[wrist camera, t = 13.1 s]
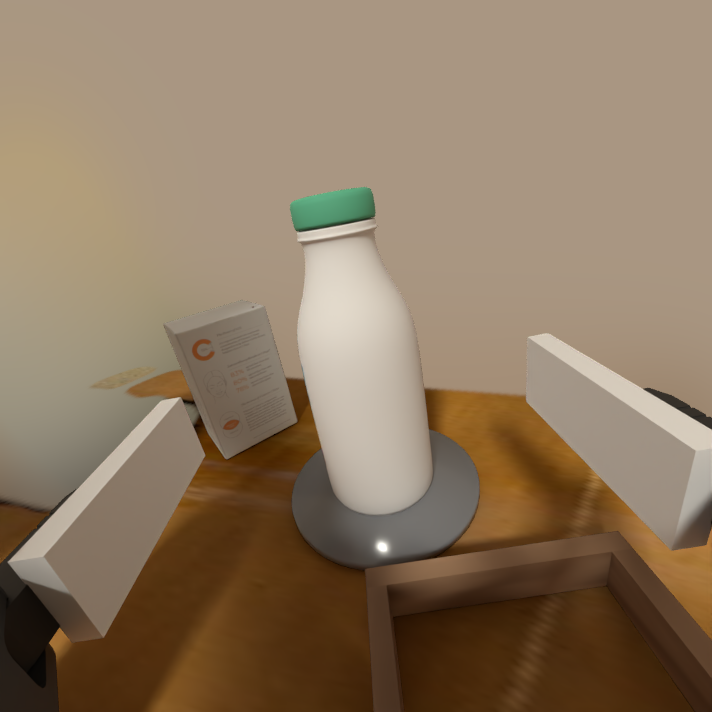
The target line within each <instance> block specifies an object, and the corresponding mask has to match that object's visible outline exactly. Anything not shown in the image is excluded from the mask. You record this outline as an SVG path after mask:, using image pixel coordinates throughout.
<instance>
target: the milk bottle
mask: <svg viewBox="0 0 712 712" xmlns="http://www.w3.org/2000/svg"><path fill="white" fill-rule="evenodd" d="M290 211H291V215H292V221H293V224H294V228H295V230H296V231H299V232H297V236H298V240H297V241H298V242H299V243H301V244H302V246H303V249H304V253H305V282H304V290H303V296H302V301H301V306H300V311H299V318H298V327H297V342H298V350H299V357H300V362H301V366H302V371H303V376H304V380H305V384H306V389H307V393H308V397H309V401H310V405H311V409H312V413H313V417H314V421H315V425H316V429H317V433H318V437H319V440H320V444H321V448H322V452H323V456H324V460H325V464H326V468H327V471H328V475H329V479H330V482H331V486H332V489H333V492H334V494H335V495H336V497H337V498H338V499H339V500H340V501H341V502H342V503H343V504H344V505H345V506H346V507H348V508H349V509H350V510H352V511H355V512H357V513H359V514H364V515H369V516H384V515H392V514H395V513H399V512H402V511H404V510H406V509H408V508H410V507H412V506H413V505H414V504H416V503H417V502H418V501H419V500H420V499H421V498H422V497H423V496H424V495H425V493H426V491H427V490H428V488H429V486H430V484H431V481H432V477H433V467H432V455H431V445H430V436H429V427H428V418H427V409H426V401H425V392H424V384H423V376H422V368H421V360H420V353H419V347H418V341H417V334H416V330H415V326H414V322H413V318H412V316H411V313H410V310H409V308H408V306H407V303H406V301H405V300H404V298H403V296H402V294H401V293H400V291H399V290H398V288H397V286H396V285H395V283H394V282H393V280H392V278H391V277H390V275H389V273H388V271H387V270H386V267H385V265H384V263H383V261H382V259H381V257H380V254H379V252H378V249H377V246H376V242H375V236H374V230H375V229H376V228H377V225H376V222H375V218H371V217H374V216H375V204H374V199H373V194H372V191H371V189H370V188H366V187H361V188H352V189H346V190H340V191H334V192H328V193H323V194H318V195H314V196H309V197H305V198H302V199H298V200H296V201H293V202H292V203H291V205H290ZM302 230H303V231H302Z"/></svg>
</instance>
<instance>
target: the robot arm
mask: <svg viewBox="0 0 712 712" xmlns="http://www.w3.org/2000/svg"><path fill="white" fill-rule="evenodd" d="M526 388H527V389H526V402H527V403H528V404H529V405H530V406H531V407H532V408H533V409H534V410H535V411H536V412H537V413H538V414H539V415H540V416H541V417H542V418H543V419H544V420H545V421H546V422H547V423H548V424H549V425H550V426H551V427H552V428H553V429H554V430H555V432H556V433H557V434H558V435H559V436H560V437H561V438H562V439H563V440H564V441H565V442H566V443H567V444H568V445H569V446H570V447H571V448H572V449H573V450H574V451H575V452H576V453H577V454H578V455H579V456H580V457H581V458H582V459H583V460H584V461H585V462H586V463H587V464H588V465H589V466H590V467H591V469H592V470H593V471H594V472H595V473H596V474H597V475H598V476H599V477H600V478H601V479H602V480H603V481H604V482H605V483H606V484H607V485H608V486H609V487H610V488H611V489H612V490H613V491H614V492H615V493H616V494H617V495H618V496H619V497H620V498H621V499H622V500H623V501H624V502H625V503H626V505H627V506H628V507H629V508H630V509H631V510H632V511H633V512H634V513H635V514H636V515H637V516H638V517H639V518H640V519H641V520H642V521H643V522H644V523H645V524H646V525H647V526H648V527H649V528H650V529H651V530H652V531H653V532H654V533H655V534H656V535H657V536H658V537H659V538H660V539H661V540H662V542H663V543H664V544H665V545H666V546H667V547H668V548H669V549H670V550H678V549H684V548H691V547H697V546H704V545H706V544H707V541H708V537H709V534H710V531H711V527H712V418H711V417H706V415H705V414H704V413H702V412H700V411H699V410H697V409H695V408H691V407H690V406H689V405H688V404H686V403H684V402H683V401H681V400H679V399H677V398H675V397H674V396H672V395H669V394H666V393H662V392H660V391H657V390H654V389H651V388H645V389H642V388H640V387H638V386H637V385H635V384H633V383H631V382H630V381H628V380H626V379H624V378H623V377H621V376H620V375H618V374H616V373H615V372H613V371H611V370H610V369H608V368H606V367H604V366H603V365H601V364H599V363H598V362H596V361H594V360H592V359H591V358H589V357H587V356H586V355H584V354H582V353H581V352H579V351H577V350H575V349H574V348H572V347H570V346H569V345H567V344H565V343H564V342H562V341H560V340H559V339H557V338H555V337H554V336H552V335H550V334H548V333H547V334H541V335H536V336H530V337H527V385H526ZM204 457H205V454H204V451H203V449H202V446H201V444H200V442H199V439H198V437H197V434H196V432H195V430H194V427H193V425H192V422H191V420H190V418H189V415H188V413H187V411H186V408H185V406H184V403H183V401H182V399H181V397H179V398H173V399H167V400H162V401H160V402H159V404H158V405H157V406H156V407H155V408H154V409H153V410H152V411H151V412H150V413H149V414H148V415H147V416H146V417H145V418H144V419H143V420H142V422H141V423H140V424H139V425H138V426H137V427H136V428H135V429H134V430H133V431H132V432H131V433H130V434H129V435H128V436H127V437H126V438H125V440H123V441H122V442H121V444H120V445H119V446H118V447H117V448H116V449H115V450H114V451H113V452H112V453H111V454H110V455H109V456H108V457H107V458H106V459H105V460H104V462H102V464H101V465H100V466H99V467H98V468H97V469H96V470H95V471H94V472H93V473H92V474H91V475H90V476H89V477H88V478H87V479H86V480H85V481H84V482H83V484H82V485H81V486H80V487H78V488H77V489H76V490H74V491H73V492H71V493H70V494H69V495H67V496H66V497H65V498H64V499H63V500H62V501H61V502H60V503H59V504H58V505H57V506H56V507H55V508H54V509H53V510H52V511H51V512H50V515H49V516H46V517H45V518H44V519H43V520H42V521H41V522H40V523H39V524H38V525H37V529H34V530H33V531H32V532H31V533H30V534H29V535H28V536H27V537H26V538H25V539H24V540H23V541H22V542H21V543H20V544H19V545H18V546H17V547H16V548H15V549H14V550H13V551H12V552H11V553H10V554H9V555H8V556H7V557H6V559H5V560H4V561H3V562H2V563H1V564H0V712H59V705H58V687H57V670H56V654H55V652H54V650H53V648H52V647H51V645H50V644H49V642H50V640H51V639H52V637H53V636H54V634H55V633H56V632H57V630H58V629H59V627H60V628H61V629H62V631H63V632H64V633H65V634H66V636H67V637H68V638H69V639H70V641H71V642H72V643H74V642H80V641H87V640H93V639H100V638H104V636H105V635H106V633H107V631H108V629H109V627H110V626H111V624H112V622H113V620H114V618H115V617H116V615H117V613H118V611H119V610H120V608H121V606H122V604H123V602H124V601H125V599H126V597H127V595H128V593H129V592H130V590H131V588H132V586H133V584H134V583H135V581H136V579H137V577H138V575H139V574H140V572H141V570H142V568H143V566H144V565H145V563H146V561H147V559H148V557H149V556H150V554H151V552H152V550H153V548H154V547H155V545H156V543H157V541H158V539H159V538H160V536H161V534H162V532H163V530H164V529H165V527H166V525H167V523H168V521H169V520H170V518H171V516H172V514H173V512H174V511H175V509H176V507H177V505H178V504H179V502H180V500H181V498H182V496H183V495H184V493H185V491H186V489H187V487H188V486H189V484H190V482H191V480H192V478H193V477H194V475H195V473H196V471H197V469H198V468H199V466H200V464H201V462H202V460H203V459H204Z"/></svg>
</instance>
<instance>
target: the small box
mask: <svg viewBox="0 0 712 712" xmlns="http://www.w3.org/2000/svg"><path fill="white" fill-rule="evenodd" d="M164 328H165V330H166V333H167V335H168V337H169V340H170V343H171V345H172V347H173V350H174V352H175V355H176V357H177V359H178V362H179V364H180V367H181V369H182V372H183V374H184V377H185V379H186V381H187V384H188V386H189V389H190V391H191V394H192V396H193V398H194V401H195V403H196V406H197V408H198V410H199V413H200V415H201V418H202V420H203V422H204V425H205V427H206V430H207V432H208V434H209V436H210V437H211V439H212V440H213V441H214V443H215V444H216V446H217V447H218V449H219V450H220V452H221V453H222V455H223V456H224V457H225V459H229V458H231V457H232V456H234V455H236V454H238V453H240V452H242V451H244V450H246V449H247V448H249V447H251V446H253V445H255V444H257V443H259V442H261V441H263V440H264V439H266V438H268V437H270V436H272V435H274V434H276V433H278V432H280V431H281V430H283V429H285V428H287V427H289V426H291V425H293V424H295V423H297V417H296V414H295V410H294V407H293V403H292V400H291V396H290V392H289V388H288V385H287V382H286V378H285V375H284V371H283V368H282V365H281V361H280V358H279V354H278V351H277V347H276V344H275V341H274V337H273V333H272V330H271V326H270V323H269V319H268V316H267V312H266V309H265V306H262V305H259V304H256V303H252V302H248V301H243V300H240V301H237V302H234V303H230V304H227V305H224V306H220V307H217V308H214V309H211V310H207V311H204V312H200V313H197V314H194V315H191V316H187V317H184V318H180V319H177V320H174V321H171V322H167V323H164Z"/></svg>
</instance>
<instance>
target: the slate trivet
mask: <svg viewBox="0 0 712 712" xmlns="http://www.w3.org/2000/svg"><path fill="white" fill-rule="evenodd" d="M429 436H430V445H431V455H432V467H433V477H432V481H431V484H430V486H429V488H428V490H427V491H426V493H425V495H424V496H423V497H422V498H421V499H420V500H419V501H418V502H417V503H416V504H414V505H413V506H412V507H410V508H408V509H406V510H404V511H402V512H399V513H395V514H392V515H384V516H369V515H364V514H359V513H357V512H355V511H352V510H350V509H349V508H348V507H346V506H345V505H344V504H343V503H342V502H341V501H340V500H339V499H338V498H337V497H336V495H335V494H334V492H333V489H332V486H331V482H330V479H329V475H328V471H327V468H326V464H325V460H324V456H323V452H322V448H321V449H320V450H319V451H318V452H316V453H315V454H314V455H313V456H312V457H311V458H310V459H309V460H308V462H307V463H306V464H305V465H304V467H303V468H302V470H301V472H300V473H299V475H298V477H297V479H296V482H295V484H294V488H293V492H292V511H293V515H294V518H295V522H296V525H297V527H298V529H299V531H300V533H301V535H302V537H303V538H304V539H305V541H306V542H307V543H308V544H309V545H310V546H311V547H312V548H313V549H314V550H315V551H316V552H317V553H319V554H320V555H322V556H323V557H325V558H326V559H328V560H330V561H332V562H335V563H337V564H339V565H343V566H346V567H349V568H353V569H359V570H365V569H368V568H375V567H381V566H388V565H394V564H401V563H408V562H414V561H421V560H428V559H432V558H434V557H436V556H438V555H439V554H441V553H442V552H444V551H445V550H447V549H448V548H450V547H451V546H452V545H453V544H454V543H455V542H456V541H457V540H459V539H460V538H461V537H462V535H463V534H464V533H465V532H466V530H467V529H468V528H469V526H470V524H471V522H472V521H473V519H474V517H475V514H476V511H477V508H478V504H479V498H480V494H479V478H478V474H477V470H476V468H475V465H474V463H473V461H472V460H471V458H470V457H469V455H468V454H467V453H466V452H465V451H464V449H463V448H462V447H460V446H459V445H458V444H457V443H456V442H454V441H453V440H451V439H450V438H448V437H446V436H444V435H443V434H441V433H438V432H436V431H433V430H430V429H429Z"/></svg>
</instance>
